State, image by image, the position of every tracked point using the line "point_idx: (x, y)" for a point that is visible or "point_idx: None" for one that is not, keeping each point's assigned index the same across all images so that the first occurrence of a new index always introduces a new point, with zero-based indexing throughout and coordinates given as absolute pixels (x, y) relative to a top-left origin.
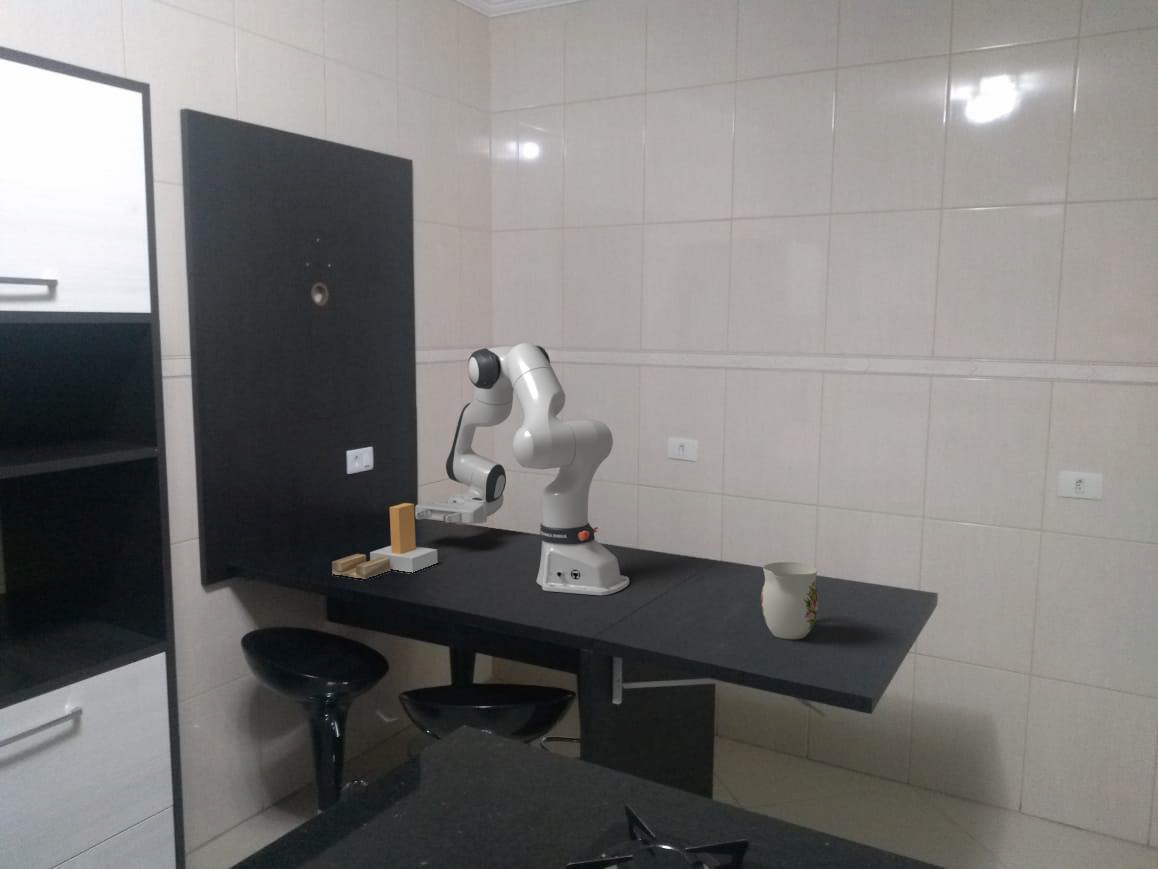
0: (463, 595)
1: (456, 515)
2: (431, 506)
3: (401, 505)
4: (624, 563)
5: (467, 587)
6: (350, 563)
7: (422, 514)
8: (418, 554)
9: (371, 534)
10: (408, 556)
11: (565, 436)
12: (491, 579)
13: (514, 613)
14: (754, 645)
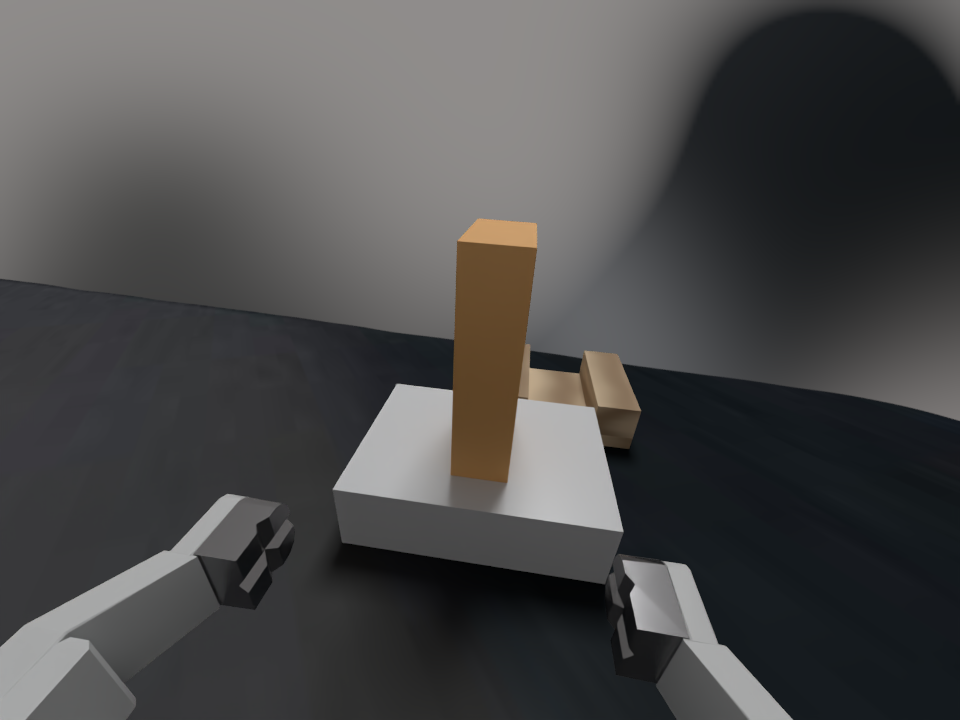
0: (213, 347)
1: (76, 613)
2: None
3: (506, 231)
4: None
5: (198, 378)
6: (586, 376)
7: (626, 615)
8: (395, 417)
9: None
10: (422, 396)
11: None
12: (93, 433)
13: (109, 310)
14: None
